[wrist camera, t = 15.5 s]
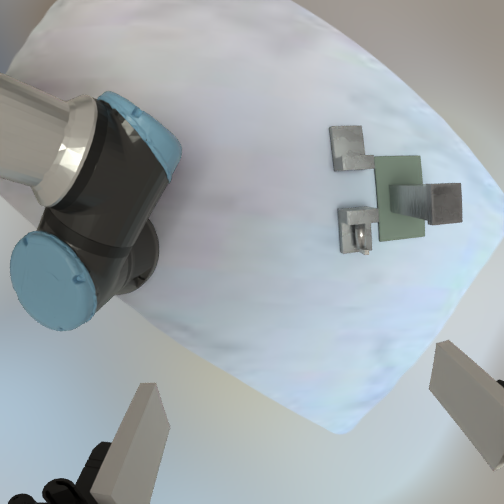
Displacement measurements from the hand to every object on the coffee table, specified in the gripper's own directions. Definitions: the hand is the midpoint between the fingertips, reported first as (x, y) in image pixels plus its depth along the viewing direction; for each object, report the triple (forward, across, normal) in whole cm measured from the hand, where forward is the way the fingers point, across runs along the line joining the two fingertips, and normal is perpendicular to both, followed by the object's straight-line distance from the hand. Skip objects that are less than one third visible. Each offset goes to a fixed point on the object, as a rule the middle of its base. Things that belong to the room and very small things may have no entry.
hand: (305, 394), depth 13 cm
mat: (+39, +24, +5) cm, 46 cm away
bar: (+38, +24, +5) cm, 45 cm away
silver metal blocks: (+39, +15, +7) cm, 42 cm away
